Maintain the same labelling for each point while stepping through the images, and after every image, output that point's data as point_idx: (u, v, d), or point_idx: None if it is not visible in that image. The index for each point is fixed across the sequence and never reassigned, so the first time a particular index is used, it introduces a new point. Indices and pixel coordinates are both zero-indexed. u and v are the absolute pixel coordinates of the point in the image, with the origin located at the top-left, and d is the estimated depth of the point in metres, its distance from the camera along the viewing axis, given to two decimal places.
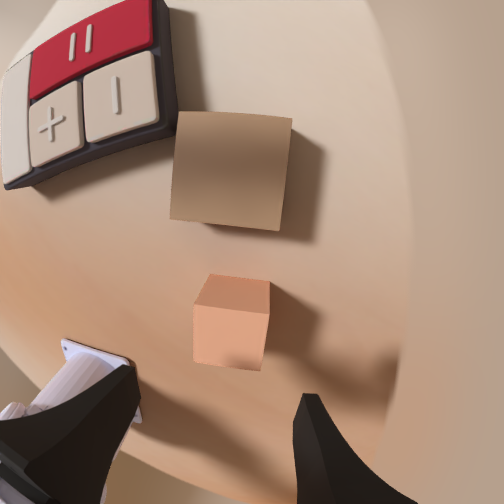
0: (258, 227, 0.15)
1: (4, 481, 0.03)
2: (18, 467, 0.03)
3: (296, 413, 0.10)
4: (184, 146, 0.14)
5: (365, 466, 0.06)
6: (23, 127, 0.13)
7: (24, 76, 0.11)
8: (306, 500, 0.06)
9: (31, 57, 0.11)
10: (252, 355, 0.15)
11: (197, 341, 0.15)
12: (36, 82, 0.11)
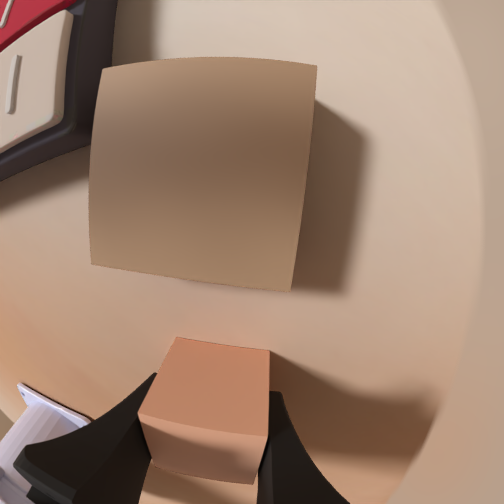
0: (248, 285, 0.07)
1: (4, 481, 0.03)
2: (64, 497, 0.03)
3: None
4: (107, 129, 0.06)
5: (316, 470, 0.06)
6: None
7: None
8: (261, 500, 0.06)
9: None
10: (240, 472, 0.08)
11: (155, 451, 0.08)
12: None
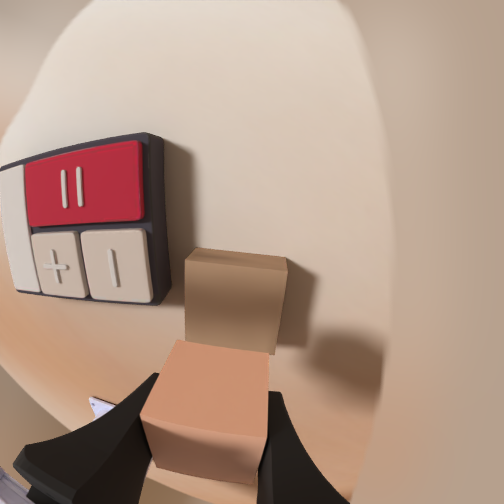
0: None
1: (4, 481, 0.03)
2: (64, 497, 0.03)
3: None
4: (193, 291, 0.16)
5: (316, 470, 0.06)
6: (28, 250, 0.16)
7: (20, 192, 0.15)
8: (261, 500, 0.06)
9: (24, 170, 0.14)
10: (240, 472, 0.08)
11: (156, 451, 0.08)
12: (33, 211, 0.15)
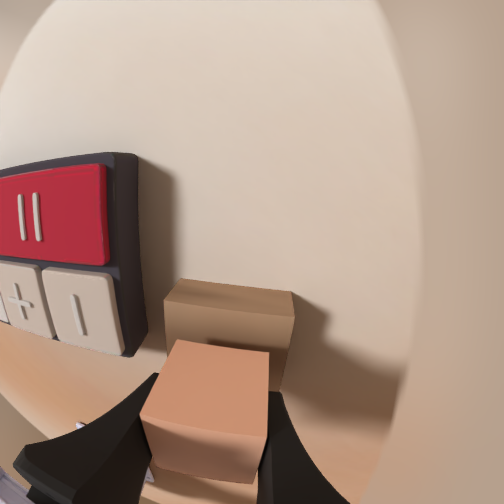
0: None
1: (4, 481, 0.03)
2: (64, 497, 0.03)
3: None
4: (175, 337, 0.13)
5: (316, 470, 0.06)
6: None
7: None
8: (260, 500, 0.06)
9: None
10: (240, 472, 0.08)
11: (156, 451, 0.08)
12: None
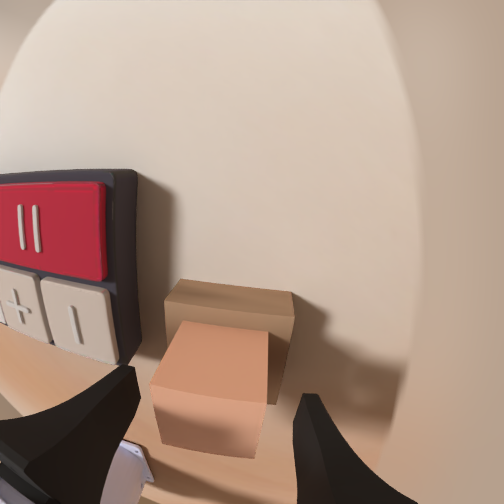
0: None
1: (4, 481, 0.03)
2: (18, 467, 0.03)
3: (296, 413, 0.10)
4: None
5: (365, 466, 0.06)
6: None
7: None
8: (306, 500, 0.06)
9: None
10: (242, 444, 0.09)
11: (163, 425, 0.09)
12: None
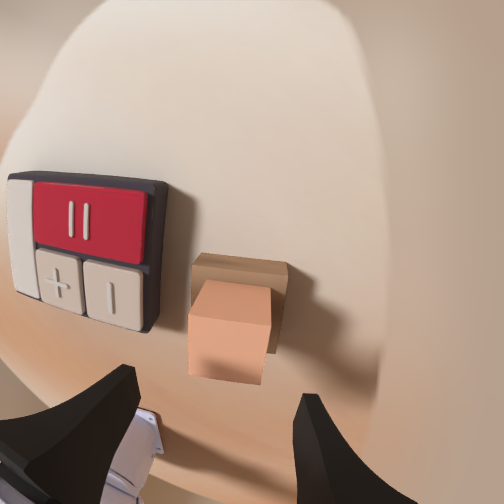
0: None
1: (4, 481, 0.03)
2: (18, 467, 0.03)
3: (296, 413, 0.10)
4: None
5: (365, 466, 0.06)
6: (31, 261, 0.17)
7: (27, 206, 0.16)
8: (306, 500, 0.06)
9: (33, 187, 0.15)
10: (252, 369, 0.14)
11: (192, 353, 0.14)
12: (40, 230, 0.16)
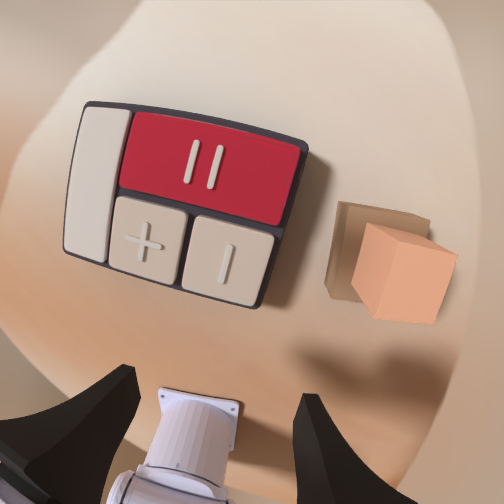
0: None
1: (4, 481, 0.03)
2: (18, 467, 0.03)
3: (296, 413, 0.10)
4: (352, 239, 0.16)
5: (365, 466, 0.06)
6: (103, 212, 0.16)
7: (115, 140, 0.14)
8: (306, 500, 0.06)
9: (129, 118, 0.14)
10: (433, 304, 0.12)
11: (388, 290, 0.12)
12: (132, 171, 0.15)
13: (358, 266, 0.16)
